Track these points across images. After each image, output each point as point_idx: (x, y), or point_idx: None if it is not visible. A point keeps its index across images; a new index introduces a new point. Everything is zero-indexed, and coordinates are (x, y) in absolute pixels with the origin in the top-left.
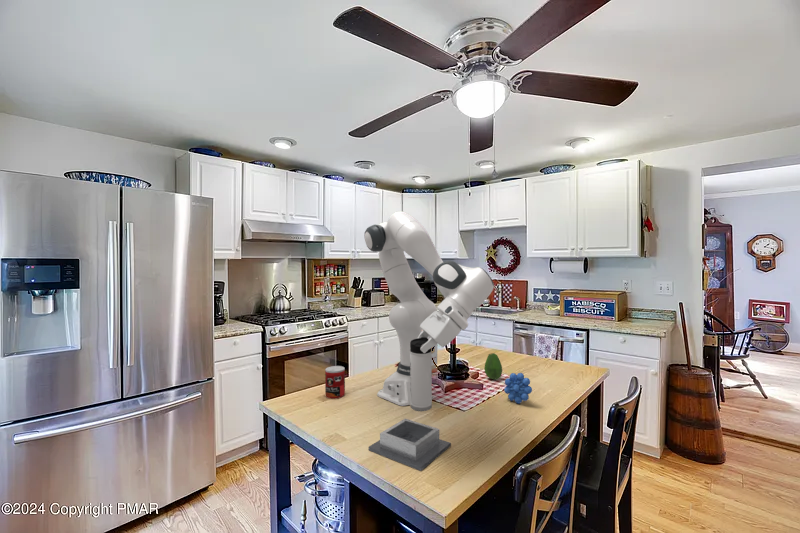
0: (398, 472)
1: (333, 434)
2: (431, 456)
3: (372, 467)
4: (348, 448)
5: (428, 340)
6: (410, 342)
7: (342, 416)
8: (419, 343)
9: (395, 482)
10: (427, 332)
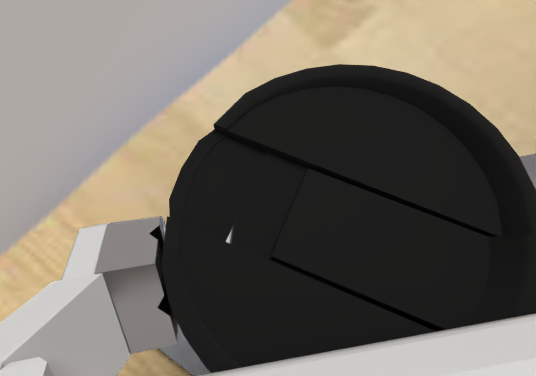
0: None
1: (361, 2)
2: (174, 349)
3: (142, 145)
4: (264, 61)
5: (2, 359)
6: (330, 67)
7: (510, 10)
8: (311, 210)
9: (50, 219)
10: (308, 361)
